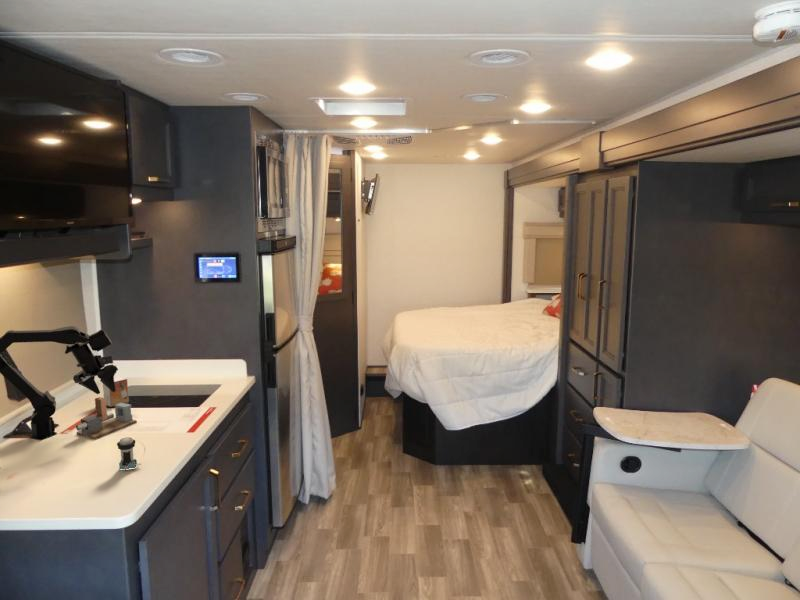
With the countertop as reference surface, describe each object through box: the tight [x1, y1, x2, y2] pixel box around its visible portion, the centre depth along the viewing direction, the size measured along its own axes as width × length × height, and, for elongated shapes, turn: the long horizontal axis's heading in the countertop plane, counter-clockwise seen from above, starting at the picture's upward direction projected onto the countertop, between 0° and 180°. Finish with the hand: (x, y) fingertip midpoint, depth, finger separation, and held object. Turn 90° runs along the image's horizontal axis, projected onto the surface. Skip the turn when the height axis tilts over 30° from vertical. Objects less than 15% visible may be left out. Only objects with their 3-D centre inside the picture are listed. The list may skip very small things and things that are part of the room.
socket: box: [114, 403, 134, 422], centre depth 227 cm, size 3×6×6 cm, turn 65°
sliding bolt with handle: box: [75, 396, 115, 432], centre depth 216 cm, size 14×3×9 cm, turn 154°
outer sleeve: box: [80, 413, 103, 435], centre depth 215 cm, size 6×4×6 cm
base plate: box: [76, 416, 138, 440], centre depth 221 cm, size 18×10×1 cm, turn 154°
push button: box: [116, 436, 142, 471], centre depth 187 cm, size 7×5×10 cm
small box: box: [102, 376, 129, 408], centre depth 248 cm, size 8×6×10 cm
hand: (106, 392), depth 222 cm, fingers open, 9 cm apart
